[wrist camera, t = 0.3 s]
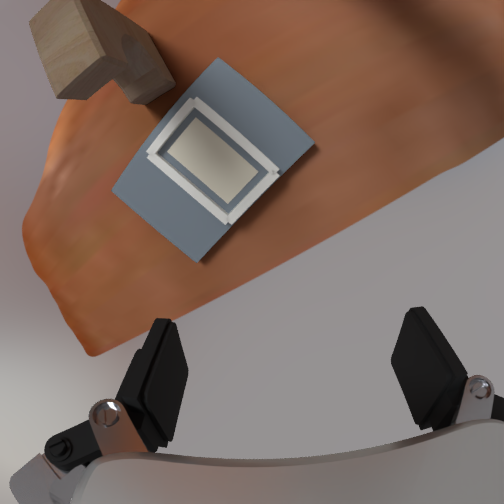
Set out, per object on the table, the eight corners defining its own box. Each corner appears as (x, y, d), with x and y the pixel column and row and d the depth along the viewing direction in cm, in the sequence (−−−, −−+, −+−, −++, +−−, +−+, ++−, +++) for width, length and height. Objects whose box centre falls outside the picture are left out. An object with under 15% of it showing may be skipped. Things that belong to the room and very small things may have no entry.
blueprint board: (219, 59, 31) (216, 55, 29) (313, 141, 36) (316, 142, 34) (115, 188, 39) (108, 192, 37) (198, 258, 44) (195, 266, 41)
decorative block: (178, 86, 33) (105, 58, 15) (143, 107, 34) (53, 103, 16) (147, 29, 29) (71, -21, 11) (115, 50, 30) (26, 21, 12)
